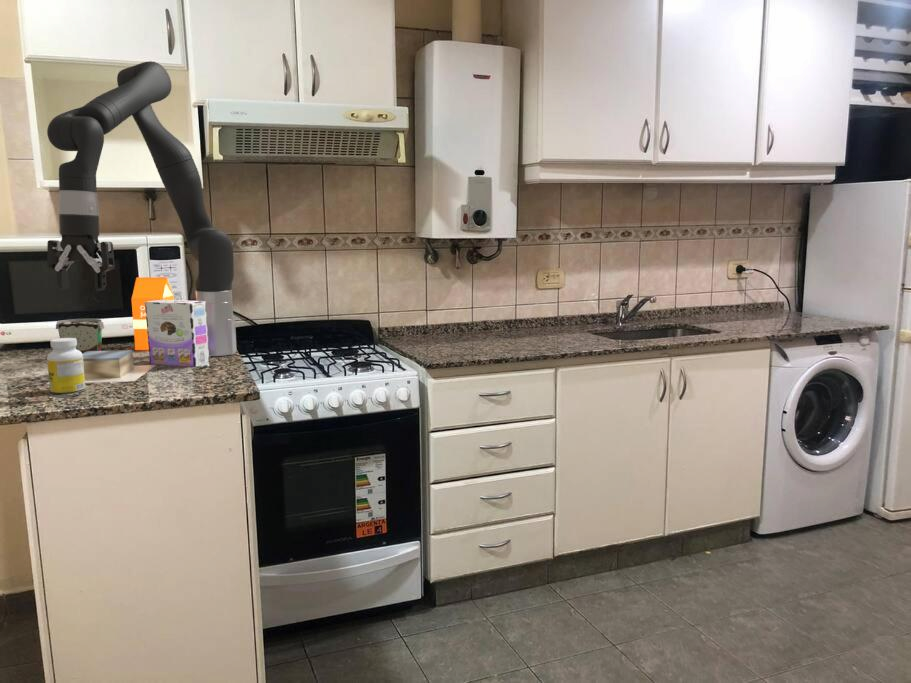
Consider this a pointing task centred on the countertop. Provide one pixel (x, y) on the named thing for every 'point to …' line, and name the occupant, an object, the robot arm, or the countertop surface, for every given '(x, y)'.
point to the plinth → (107, 364)
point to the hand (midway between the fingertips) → (81, 289)
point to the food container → (82, 333)
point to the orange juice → (143, 293)
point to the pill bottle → (65, 368)
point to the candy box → (177, 332)
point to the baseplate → (130, 376)
